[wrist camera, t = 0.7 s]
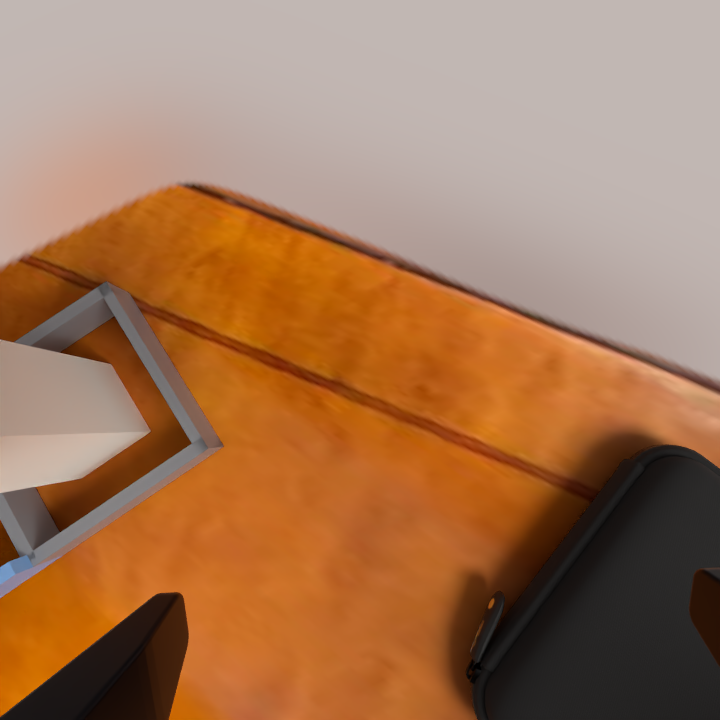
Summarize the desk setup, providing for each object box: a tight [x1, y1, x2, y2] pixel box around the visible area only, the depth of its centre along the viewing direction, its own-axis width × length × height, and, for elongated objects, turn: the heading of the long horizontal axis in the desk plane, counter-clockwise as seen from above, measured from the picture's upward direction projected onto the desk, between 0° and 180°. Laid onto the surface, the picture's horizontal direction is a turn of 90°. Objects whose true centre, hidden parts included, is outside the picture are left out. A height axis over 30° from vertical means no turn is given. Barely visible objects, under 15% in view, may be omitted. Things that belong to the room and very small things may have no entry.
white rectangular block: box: [0, 340, 151, 493], centre depth 18 cm, size 4×4×10 cm
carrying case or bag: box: [466, 445, 720, 720], centre depth 20 cm, size 11×3×15 cm
